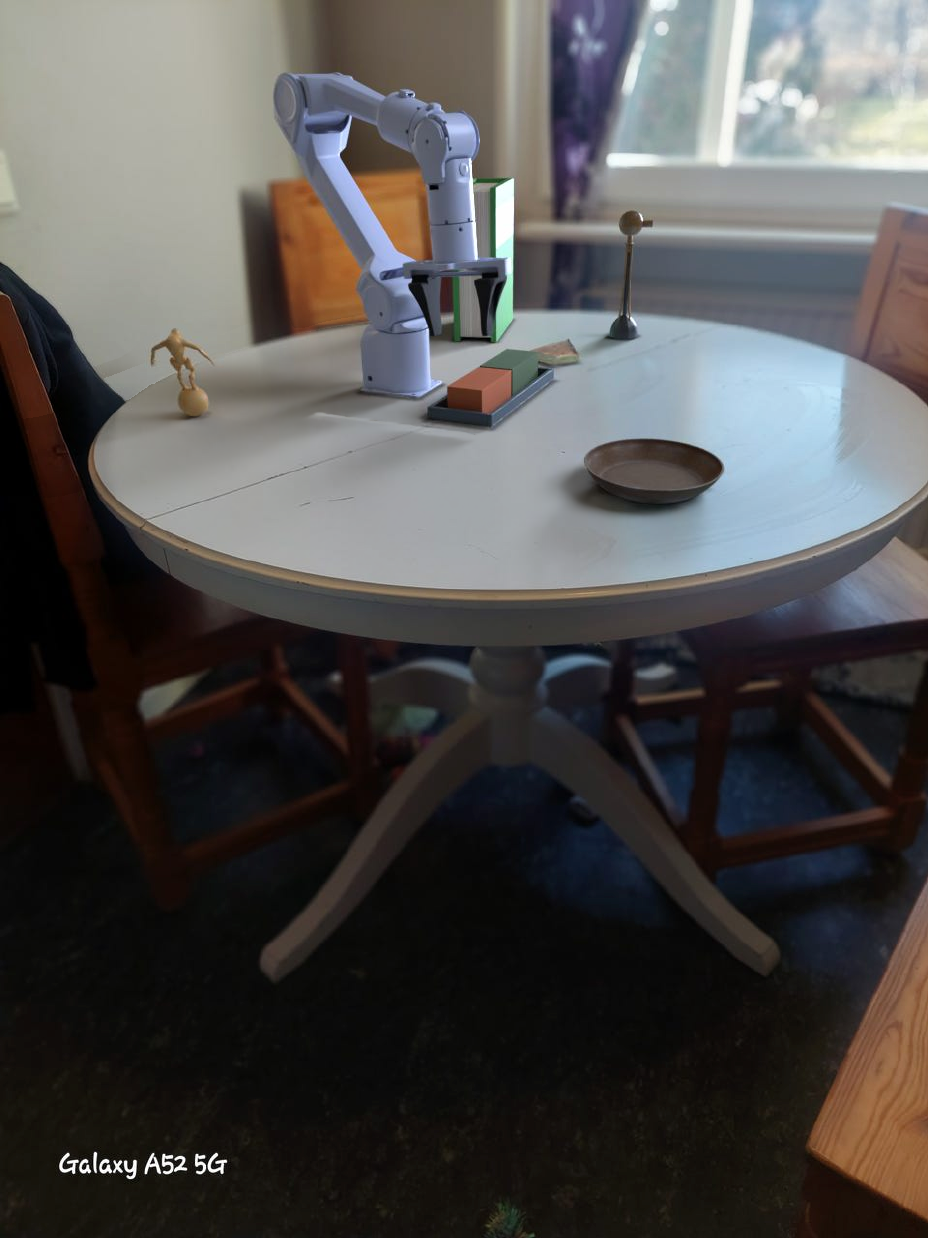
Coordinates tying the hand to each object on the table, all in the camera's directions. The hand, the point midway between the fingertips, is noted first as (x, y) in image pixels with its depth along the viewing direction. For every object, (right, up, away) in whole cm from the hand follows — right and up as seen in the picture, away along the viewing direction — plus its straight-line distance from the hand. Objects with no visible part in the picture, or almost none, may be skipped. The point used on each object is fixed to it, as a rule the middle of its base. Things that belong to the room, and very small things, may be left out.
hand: (461, 334), depth 116 cm
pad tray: (+5, -7, +7) cm, 11 cm away
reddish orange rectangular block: (+3, -9, +2) cm, 10 cm away
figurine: (-36, -11, +3) cm, 38 cm away
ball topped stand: (+29, +12, +36) cm, 48 cm away
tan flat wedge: (+14, +4, +25) cm, 29 cm away
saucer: (+21, -23, -21) cm, 37 cm away
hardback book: (+4, +15, +43) cm, 45 cm away
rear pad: (+7, -4, +11) cm, 13 cm away
